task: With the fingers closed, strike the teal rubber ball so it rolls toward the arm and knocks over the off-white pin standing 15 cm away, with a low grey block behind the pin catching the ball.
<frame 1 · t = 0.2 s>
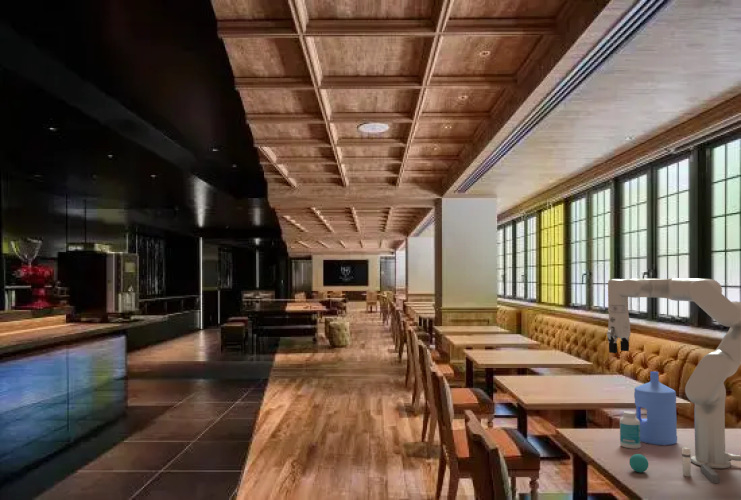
hand: (619, 351, 237), 37 cm above the table, tool pointing down, fingers open, 9 cm apart
ball: (638, 463, 203), on the table
grey block: (709, 477, 198), on the table
water jug: (655, 441, 242), on the table
pin: (686, 475, 199), on the table
pill bottle: (630, 447, 233), on the table
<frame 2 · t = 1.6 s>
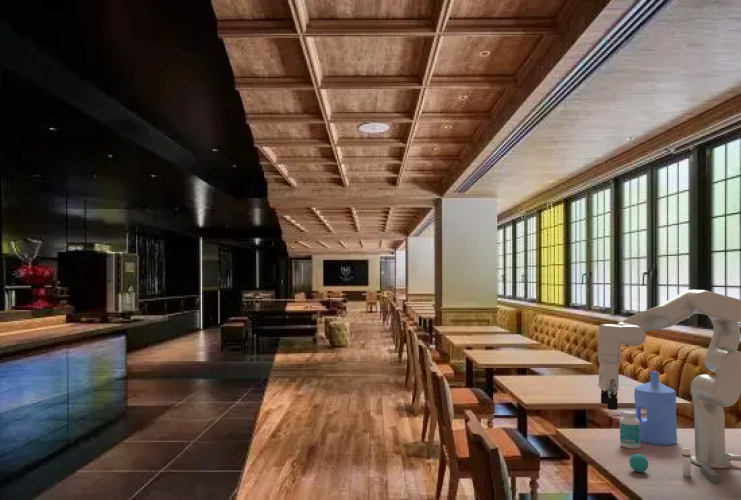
hand: (608, 406, 212), 21 cm above the table, tool pointing down, fingers open, 9 cm apart
nothing on the table moved.
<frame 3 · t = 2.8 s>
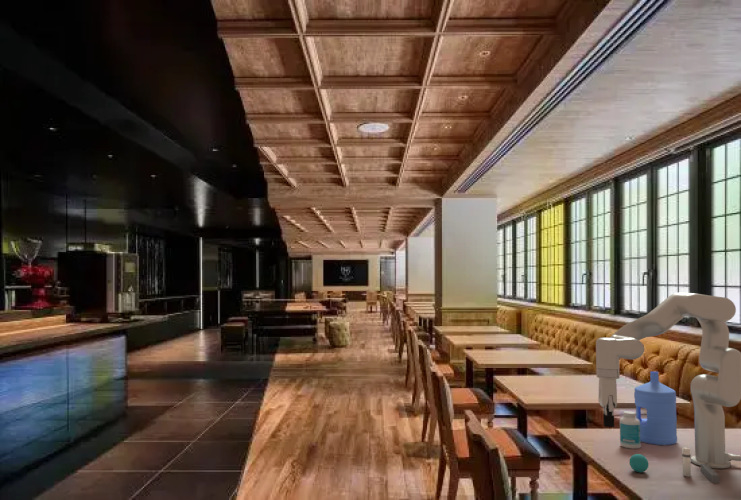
hand: (608, 426, 206), 15 cm above the table, tool pointing down, fingers closed
nothing on the table moved.
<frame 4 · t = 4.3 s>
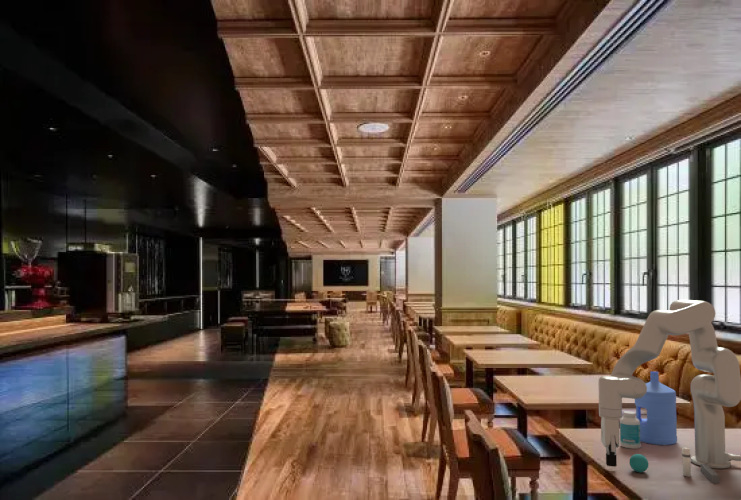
hand: (611, 465, 205), 2 cm above the table, tool pointing down, fingers closed
nothing on the table moved.
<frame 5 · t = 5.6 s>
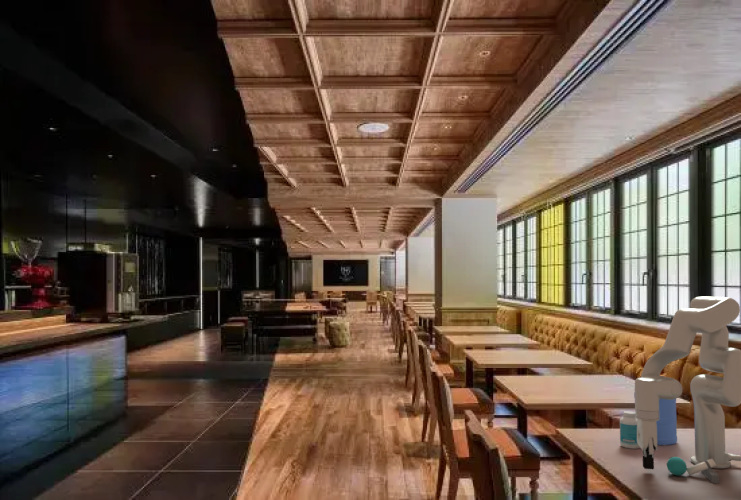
hand: (648, 468, 202), 1 cm above the table, tool pointing down, fingers closed
ball: (676, 466, 200), on the table
pin: (687, 472, 199), point 1 cm above the table, tilted 64°
everything else where it was.
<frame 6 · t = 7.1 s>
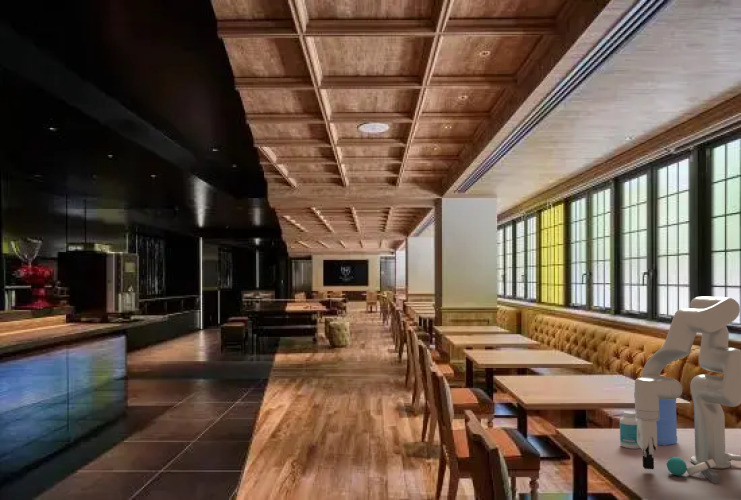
hand: (648, 468, 202), 1 cm above the table, tool pointing down, fingers closed
pin: (687, 472, 199), point 1 cm above the table, tilted 64°, touching grey block
everything else where it was.
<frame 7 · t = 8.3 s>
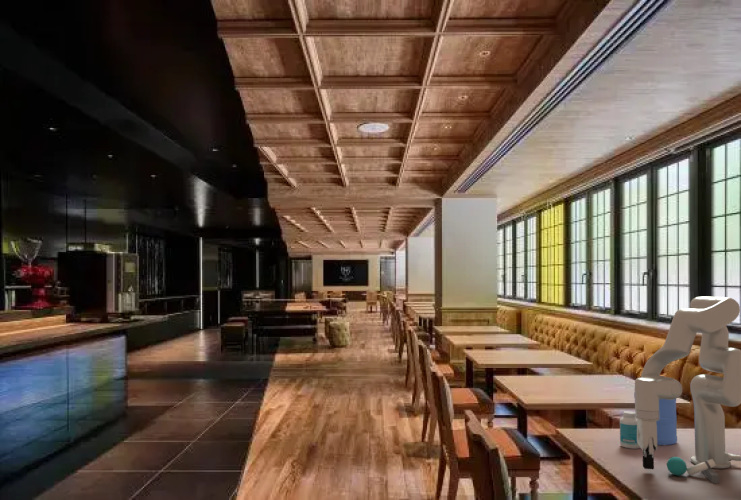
hand: (648, 468, 202), 1 cm above the table, tool pointing down, fingers closed
nothing on the table moved.
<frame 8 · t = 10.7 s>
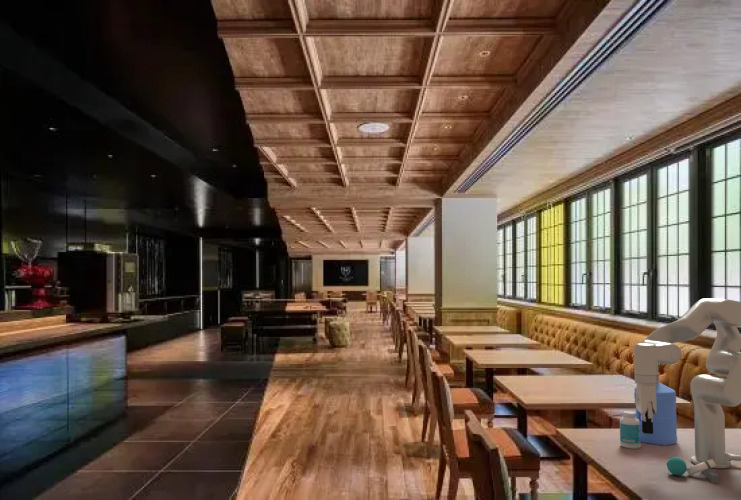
hand: (647, 432, 203), 13 cm above the table, tool pointing down, fingers closed
nothing on the table moved.
at the end: pin tilted 64°; pin never touched the robot; ball moved 11.8 cm from its start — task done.
